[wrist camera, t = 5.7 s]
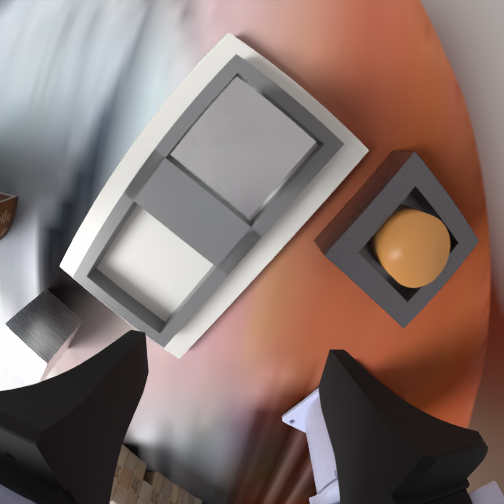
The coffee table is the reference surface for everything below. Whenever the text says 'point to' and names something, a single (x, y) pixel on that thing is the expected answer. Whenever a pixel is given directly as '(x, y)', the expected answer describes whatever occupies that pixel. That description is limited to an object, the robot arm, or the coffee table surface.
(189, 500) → the block tower
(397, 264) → the button
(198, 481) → the coffee table surface
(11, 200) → the food container
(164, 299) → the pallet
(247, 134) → the seated billet
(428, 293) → the button housing
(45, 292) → the billet
